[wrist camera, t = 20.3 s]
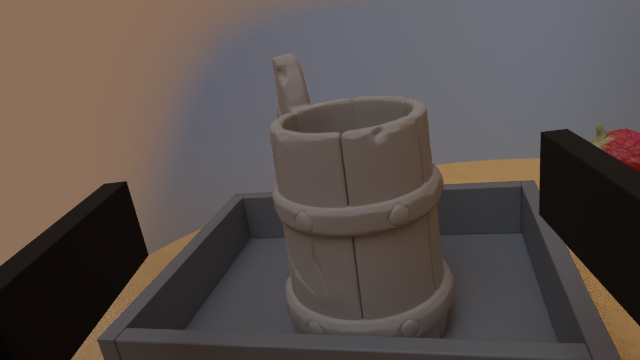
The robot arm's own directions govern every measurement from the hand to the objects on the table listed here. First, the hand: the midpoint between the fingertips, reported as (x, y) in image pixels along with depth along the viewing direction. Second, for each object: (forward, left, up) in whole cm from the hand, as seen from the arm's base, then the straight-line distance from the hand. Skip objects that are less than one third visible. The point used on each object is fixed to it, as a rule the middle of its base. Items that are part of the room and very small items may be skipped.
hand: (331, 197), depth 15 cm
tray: (-1, +7, -9) cm, 11 cm away
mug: (-2, +7, -9) cm, 11 cm away
